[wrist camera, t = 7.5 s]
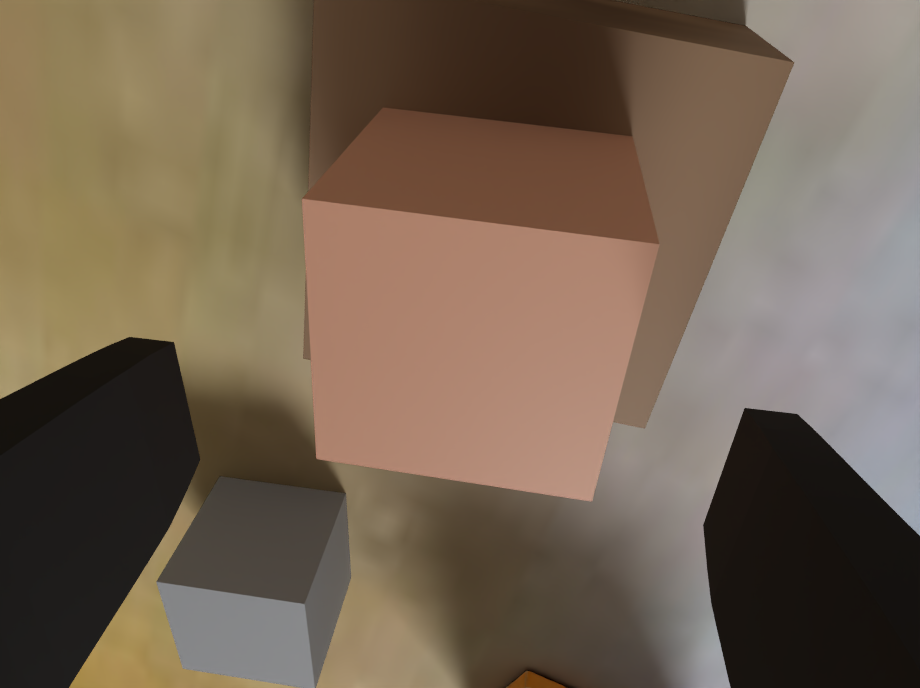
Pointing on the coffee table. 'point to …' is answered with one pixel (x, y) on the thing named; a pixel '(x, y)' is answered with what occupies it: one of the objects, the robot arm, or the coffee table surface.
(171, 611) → the slate grey cube
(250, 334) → the coffee table surface
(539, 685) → the supplement box
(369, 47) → the walnut block
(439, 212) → the terracotta cube
